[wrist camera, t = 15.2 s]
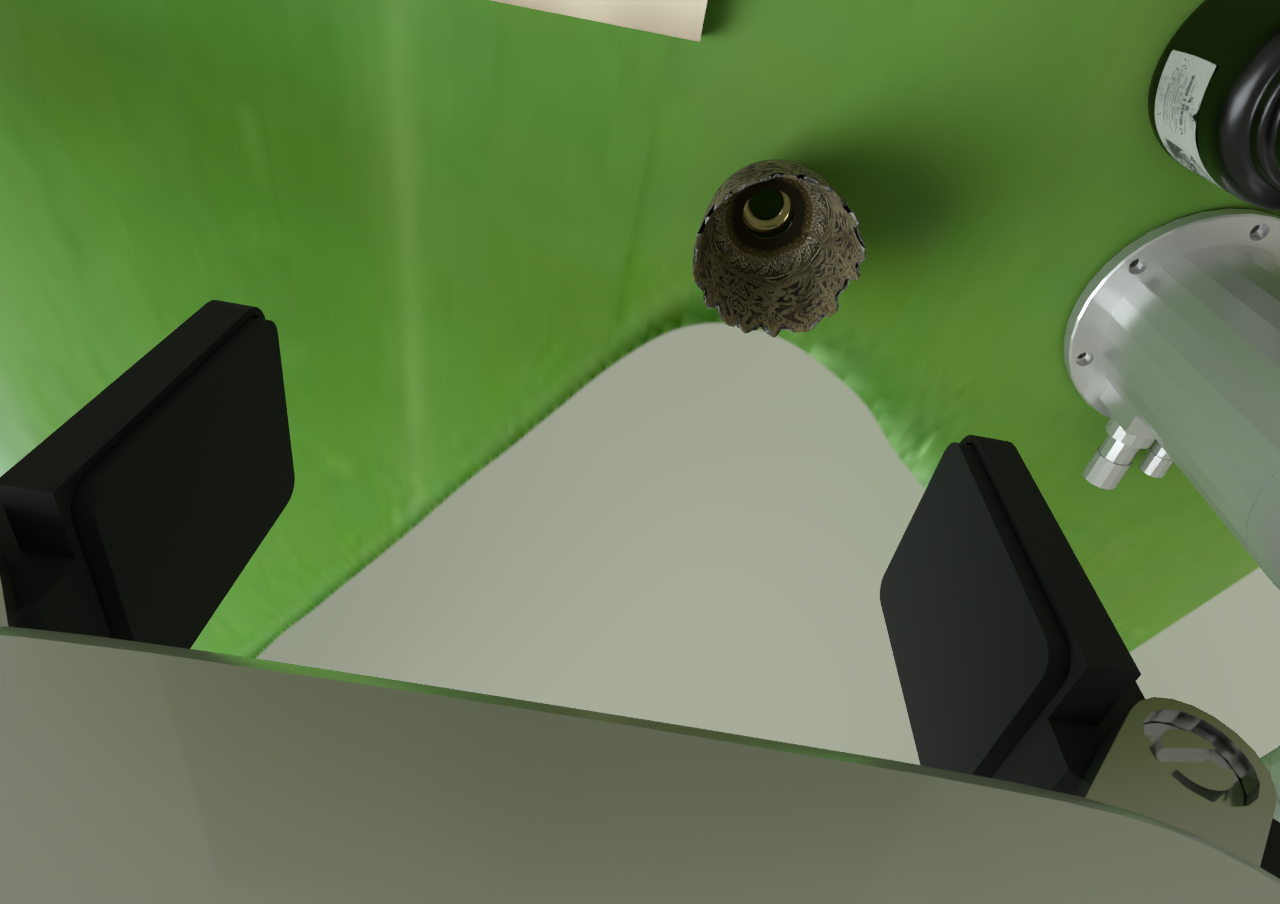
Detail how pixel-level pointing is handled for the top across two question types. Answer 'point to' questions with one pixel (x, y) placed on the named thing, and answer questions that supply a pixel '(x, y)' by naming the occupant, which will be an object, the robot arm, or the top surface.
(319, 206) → the top surface
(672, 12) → the dock board
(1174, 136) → the ink bottle
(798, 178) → the cup
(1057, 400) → the top surface
